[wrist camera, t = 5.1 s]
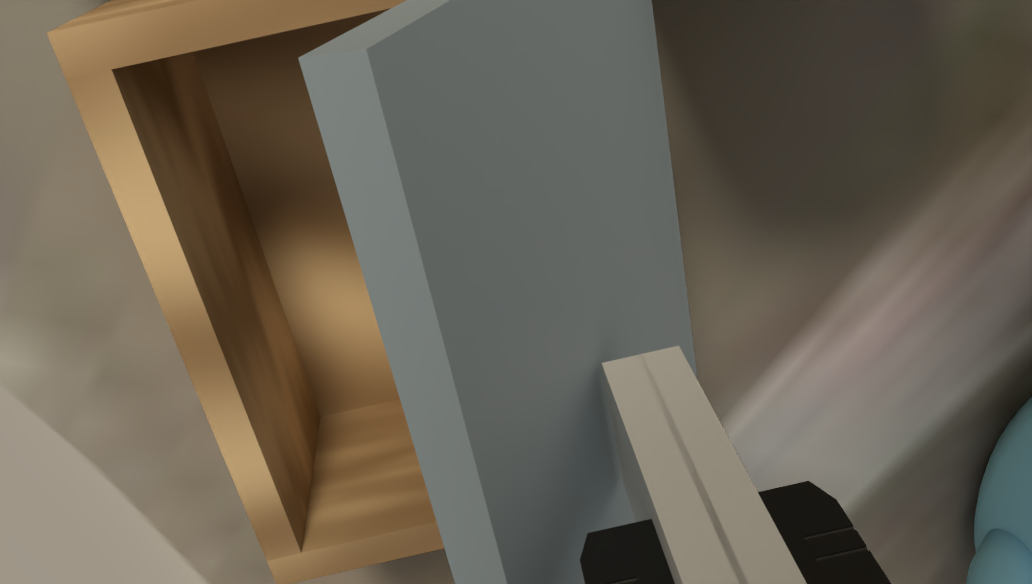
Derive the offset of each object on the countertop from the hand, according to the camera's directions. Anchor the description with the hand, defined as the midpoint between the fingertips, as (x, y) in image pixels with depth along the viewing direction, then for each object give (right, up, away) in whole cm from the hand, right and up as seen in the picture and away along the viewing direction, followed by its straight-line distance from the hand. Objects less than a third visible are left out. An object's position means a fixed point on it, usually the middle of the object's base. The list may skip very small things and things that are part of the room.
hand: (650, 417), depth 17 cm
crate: (-6, +6, +14) cm, 16 cm away
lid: (-1, 0, +1) cm, 2 cm away
